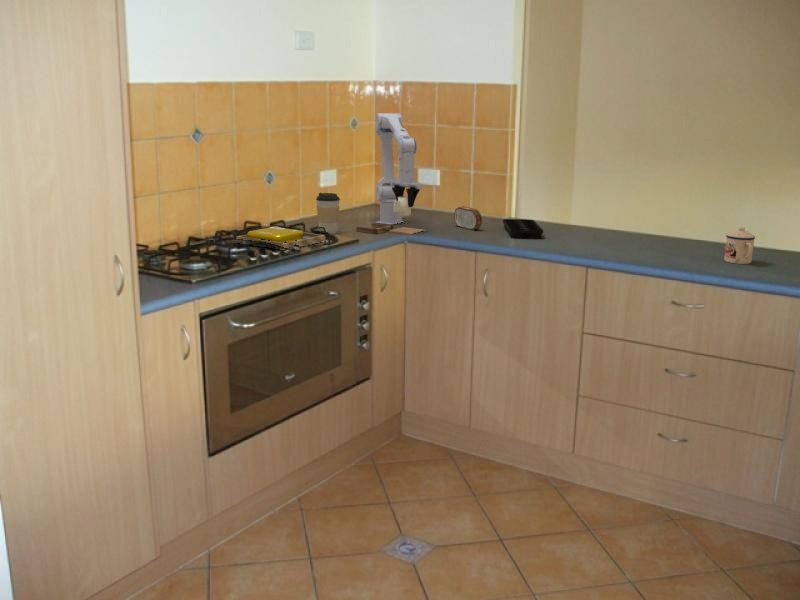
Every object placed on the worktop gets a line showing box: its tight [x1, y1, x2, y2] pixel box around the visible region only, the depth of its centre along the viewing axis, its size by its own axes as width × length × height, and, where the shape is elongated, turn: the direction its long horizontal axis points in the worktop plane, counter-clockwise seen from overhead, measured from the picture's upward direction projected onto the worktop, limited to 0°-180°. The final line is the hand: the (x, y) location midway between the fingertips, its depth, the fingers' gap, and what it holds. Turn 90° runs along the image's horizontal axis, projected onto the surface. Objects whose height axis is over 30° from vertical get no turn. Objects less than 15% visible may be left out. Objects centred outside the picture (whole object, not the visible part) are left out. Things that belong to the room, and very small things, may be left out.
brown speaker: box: [453, 205, 483, 231], centre depth 344 cm, size 15×3×8 cm, turn 34°
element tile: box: [247, 226, 304, 243], centre depth 306 cm, size 15×15×5 cm
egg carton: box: [502, 218, 544, 240], centre depth 338 cm, size 18×30×4 cm, turn 12°
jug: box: [393, 195, 412, 217], centre depth 330 cm, size 8×5×7 cm, turn 130°
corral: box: [236, 231, 326, 248], centre depth 305 cm, size 22×22×2 cm
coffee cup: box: [315, 192, 341, 235], centre depth 327 cm, size 9×9×15 cm
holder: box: [356, 223, 394, 235], centre depth 334 cm, size 11×9×2 cm
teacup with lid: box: [723, 226, 756, 265], centre depth 287 cm, size 12×9×12 cm
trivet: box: [388, 226, 426, 236], centre depth 334 cm, size 10×10×1 cm
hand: (405, 206), depth 332 cm, fingers closed on jug, 5 cm apart
